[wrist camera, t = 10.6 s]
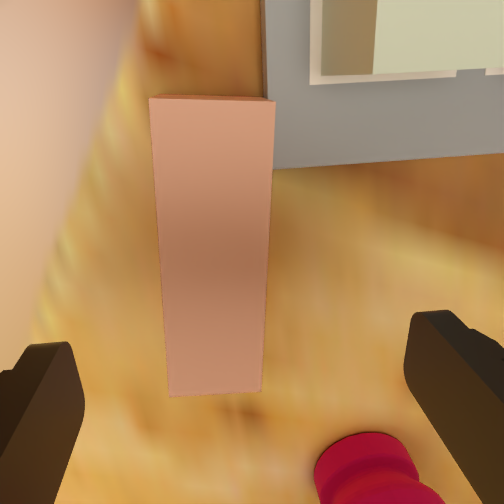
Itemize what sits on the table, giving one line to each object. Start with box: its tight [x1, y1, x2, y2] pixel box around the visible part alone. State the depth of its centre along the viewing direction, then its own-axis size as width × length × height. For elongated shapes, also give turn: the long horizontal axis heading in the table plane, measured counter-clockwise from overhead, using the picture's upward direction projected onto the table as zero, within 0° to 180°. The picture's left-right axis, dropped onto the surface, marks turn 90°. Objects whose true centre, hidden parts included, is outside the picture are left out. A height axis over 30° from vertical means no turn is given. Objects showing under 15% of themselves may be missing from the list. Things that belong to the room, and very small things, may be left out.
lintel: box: [149, 94, 276, 397], centre depth 17 cm, size 12×4×4 cm, turn 178°
